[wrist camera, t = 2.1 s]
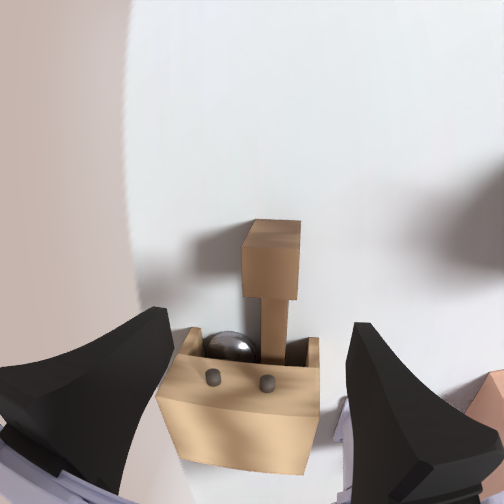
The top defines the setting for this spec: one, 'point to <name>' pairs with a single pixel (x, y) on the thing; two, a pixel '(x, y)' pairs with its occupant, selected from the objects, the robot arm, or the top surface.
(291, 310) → the top surface
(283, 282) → the wooden mallet
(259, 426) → the bread box
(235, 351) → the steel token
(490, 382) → the utensil crock
